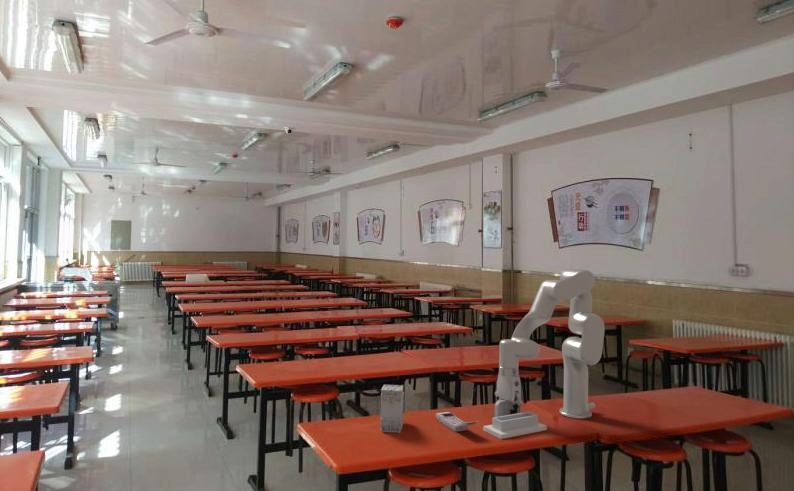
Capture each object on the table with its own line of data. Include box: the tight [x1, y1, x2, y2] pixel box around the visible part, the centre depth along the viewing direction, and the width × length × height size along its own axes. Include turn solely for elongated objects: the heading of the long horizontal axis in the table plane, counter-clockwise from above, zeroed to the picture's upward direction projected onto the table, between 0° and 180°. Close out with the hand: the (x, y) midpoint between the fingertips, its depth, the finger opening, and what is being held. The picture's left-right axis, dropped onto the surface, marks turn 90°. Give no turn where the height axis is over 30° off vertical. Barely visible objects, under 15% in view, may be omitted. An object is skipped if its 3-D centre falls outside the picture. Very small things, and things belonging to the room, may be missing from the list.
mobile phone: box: [435, 411, 479, 433], centre depth 191 cm, size 6×6×25 cm
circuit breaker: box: [379, 384, 405, 434], centre depth 191 cm, size 8×14×15 cm, turn 174°
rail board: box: [482, 411, 548, 440], centre depth 188 cm, size 22×10×5 cm, turn 118°
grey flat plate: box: [494, 400, 522, 417], centre depth 201 cm, size 2×12×8 cm, turn 117°
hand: (507, 416), depth 201 cm, fingers open, 5 cm apart
